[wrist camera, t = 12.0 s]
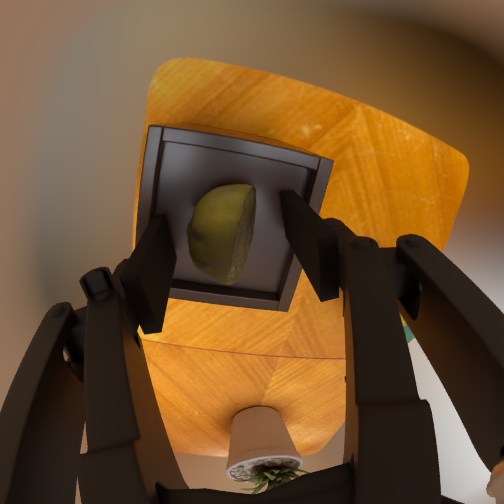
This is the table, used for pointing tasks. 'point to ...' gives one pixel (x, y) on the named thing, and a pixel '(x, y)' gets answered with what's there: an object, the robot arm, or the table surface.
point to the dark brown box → (220, 174)
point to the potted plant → (261, 449)
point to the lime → (223, 232)
